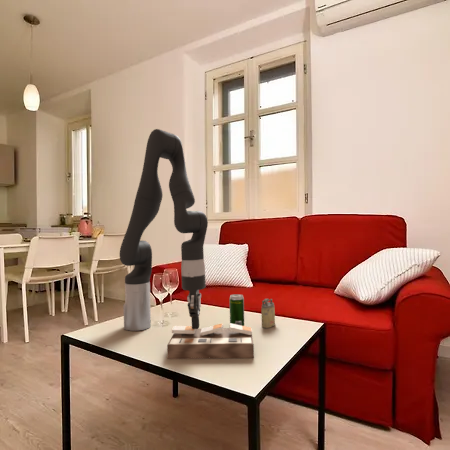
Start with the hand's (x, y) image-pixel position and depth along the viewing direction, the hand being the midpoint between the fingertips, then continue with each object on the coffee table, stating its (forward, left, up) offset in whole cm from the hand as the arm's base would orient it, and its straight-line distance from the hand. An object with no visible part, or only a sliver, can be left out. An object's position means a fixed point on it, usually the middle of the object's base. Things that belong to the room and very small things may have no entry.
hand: (195, 328), depth 97 cm
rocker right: (+14, 0, -1) cm, 14 cm away
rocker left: (-4, 0, -1) cm, 4 cm away
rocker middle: (+5, 0, -1) cm, 5 cm away
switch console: (+5, -1, -6) cm, 8 cm away
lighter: (+25, +20, -6) cm, 33 cm away
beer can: (+13, +18, -6) cm, 23 cm away
